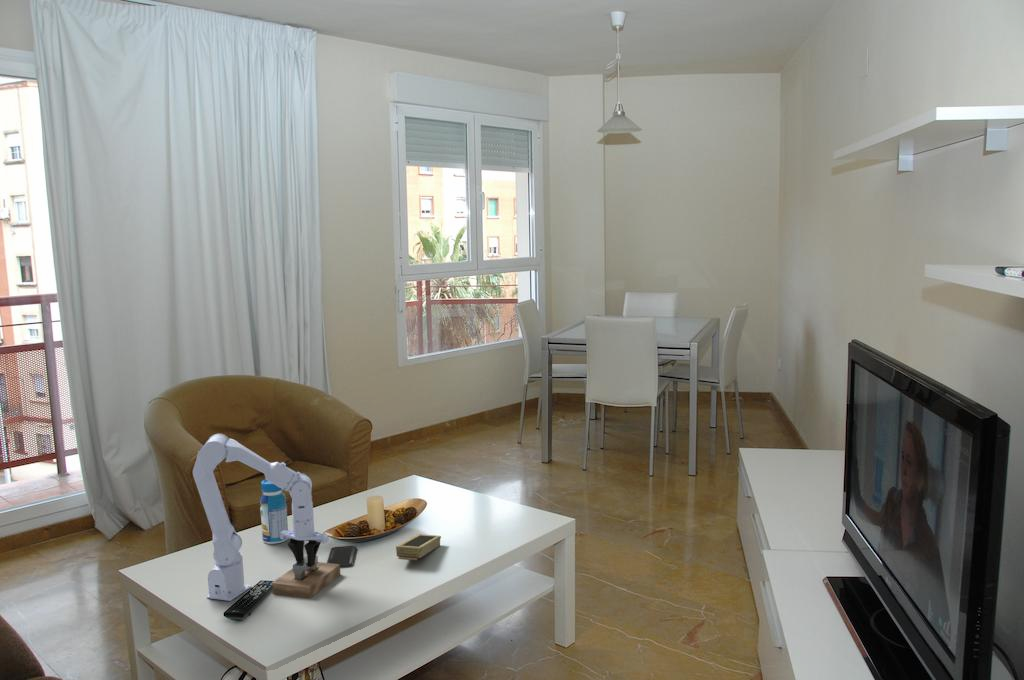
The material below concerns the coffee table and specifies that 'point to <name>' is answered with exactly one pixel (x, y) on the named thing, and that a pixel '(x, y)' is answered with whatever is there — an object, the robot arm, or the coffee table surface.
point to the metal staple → (303, 568)
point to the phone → (342, 556)
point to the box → (417, 546)
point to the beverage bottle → (273, 513)
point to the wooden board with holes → (306, 581)
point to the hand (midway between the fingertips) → (306, 564)
